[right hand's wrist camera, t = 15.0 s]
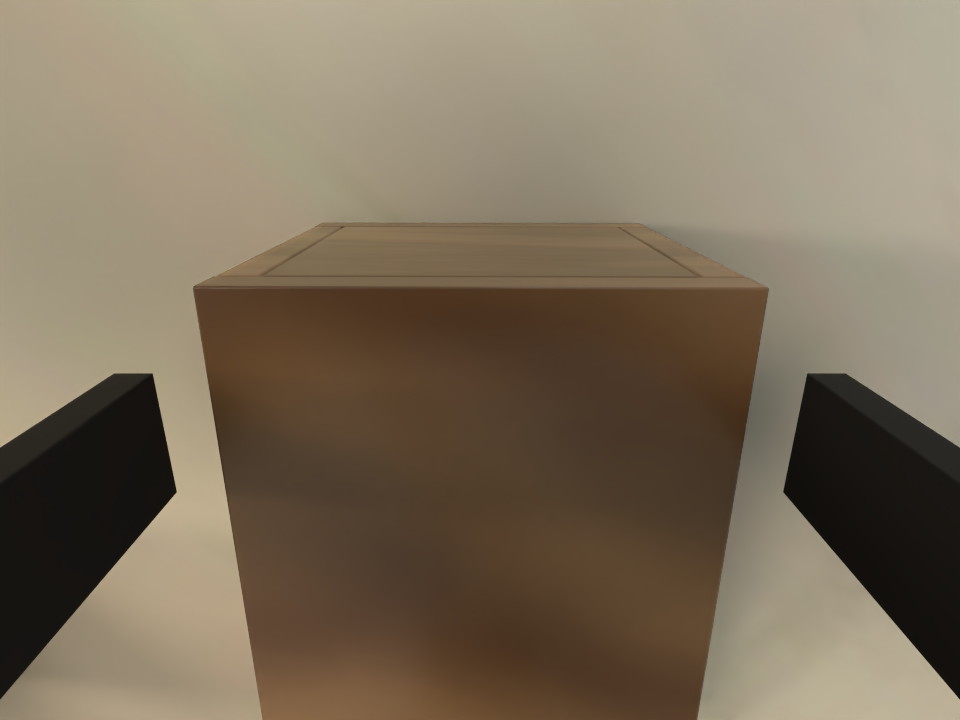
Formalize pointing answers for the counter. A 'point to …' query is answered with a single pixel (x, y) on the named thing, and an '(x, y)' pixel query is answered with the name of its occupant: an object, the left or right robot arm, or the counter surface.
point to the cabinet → (480, 466)
